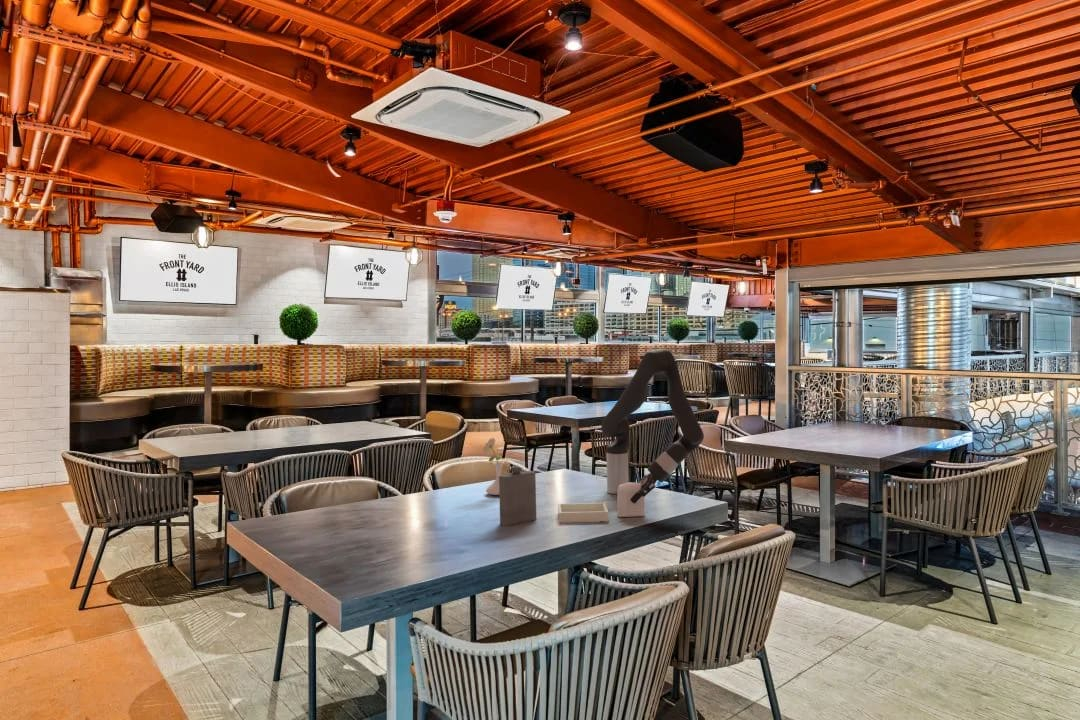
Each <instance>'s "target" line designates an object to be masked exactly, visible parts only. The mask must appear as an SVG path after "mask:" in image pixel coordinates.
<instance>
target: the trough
mask: <svg viewBox="0 0 1080 720" xmlns="http://www.w3.org/2000/svg"><path fill="white" fill-rule="evenodd" d="M557 505H558V519H559V520H560V521H559V523H560V522H562V523H596V522H599V523H600V521H604V522H609V510H608V507H607V505H606V503H605V502H583V503H581V502H580V503H579V502H578V503H577V502H576V503H558V504H557Z"/></svg>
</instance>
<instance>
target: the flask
mask: <svg viewBox="0 0 1080 720" xmlns="http://www.w3.org/2000/svg"><path fill="white" fill-rule="evenodd" d="M536 484H537V483H536V472H535V471H533V470H524V471H523V470H522V467H521V466H517V465H516V466H511V472H508V473H504V474H503V473H502V474H501V475H500V476H499V495H498V496H499V525H500V526H502V525H504V526H503V527H509V526H508V525H511V526H513V524H514V525H517V524H516V523H518V524H521V523H520V522H522V523H526V522H525V521H528V522H532V521H531V520H534V521H536V520H537V490H536V489H537V488H536V487H537V485H536Z"/></svg>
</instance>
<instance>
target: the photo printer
mask: <svg viewBox="0 0 1080 720" xmlns="http://www.w3.org/2000/svg"><path fill="white" fill-rule="evenodd" d="M640 486H641V484H640V483H638V482H631V481H630V482H628V483H624V484H621V485H619V486H618V490H617V494H616V496H617V500H616V501H617V502H616V503H617V516H618V517H619V518H624V517H625V518H628V517H645V516H646V515H645V511H646V510H645V509H646V507H645V504H646V503H645V501H646V500H645V497H646V496H645V497H644V496H643V497H641V498H640V499H639V500H638V501H637V502H636V503H633V502H632V501H631V500H630V499H631V498H632V497H633V496H634V495H635V494H636V493H637V491H638V490H639V489H640ZM643 492H644V490H643Z"/></svg>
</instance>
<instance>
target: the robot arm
mask: <svg viewBox="0 0 1080 720" xmlns="http://www.w3.org/2000/svg"><path fill="white" fill-rule="evenodd" d="M656 374H664V375H665V377H666V379H667V382H668V404H669V407H670V409H671V411H672V414H673V416H674V418H675V420H676V421H677V422H678V425H679V428H680V430H681V434H682V436H680V437H679V438H678V439H677V440H676V441H675V442H672V443H671V444H670V445H669V446H668V447H666V449H665V450H664V451H663V452H662V453H661V454H659V456H657V458H655V460H654V461H653V462H651V464H650V465H649V466H648V467H647V468H646V469H647V471H648V472H649V473H648V474H647V475H646V474H644V475H643V476H642V477H641V478H640V479H639V481H638V482H637V483H640V484H641V486H640V489H639V490H638V491H637V493H636V494H635V495H634V496H633V497H632V498H631V499H630V500H631V501H632V502H633V503H636V502H637V501H638V500H639V499H640V498H641V497H643V496H644V497H646V496H647V495H648V494H649V493H651V491H653V490H654V489H655V488H656V483H657V481H659V483H661V484H662V483H664V482H665V481H666V480H667V479H668V477H669V476H670V475H671V474H673V472H674V471H675V470H676V469H677V468H678V467H679V465H680V464H681V463H682V462H683V461H684V460H685V458H686V457H687V456H689V455H690V453H692V452H693V451H695V450H696V448H698V447H699V446H700V445H701V444H702V442H703V441H704V439H705V438H704V437H705V435H704V432H703V429H702V427H701V426H700V423H699V421H698V420H697V418H696V415H695V413H694V411H693V408H692V405H691V404H690V401H689V399H688V397H687V395H686V392H685V389H684V387H683V383H682V380H681V375H680V372H679V370H678V367H677V362H676V359H675V357H674V354H673V352H672V351H671V350H670V349H667V348H660V349H659V348H658V349H653V350H649V351H647V352H646V353H645V354H644V355H643V357H642V358H641V361H640V363H639V365H638V367H637V369H636V372H635V373H634V375H633V376H632V378H631V380H630V381H629V382H628V384H627V386H626V387H625V389H624V390H623V392H622V393H621V395H620V397H619V398H618V400H617V401H616V403H615V404H614V405H613V407H612V408H611V409H610V411H608V413H607V414H606V415H605V416H604V417H603V419H602V421H601V432H602V434H603V436H605V437H606V438H607V437H608V438H615V439H614V441H612V442H611V443H610V444H609V443H608V445H607V446H606V447H605V448H606V449H605V451H606V491H607V492H606V493H608V494H612V495H617V490H618V486H619V485H621V484H624V483H629V454H628V453H629V445H630V420H629V419H628V416H630V415H632V414H633V413H635V412H637V410H639V409H640V408H641V407H642V406H643V404H644V403H645V401H646V400H647V398H648V396H649V385H648V384H649V382H650V380H651V379H652V378H653V377H654V376H655V375H656ZM643 490H644V492H643Z"/></svg>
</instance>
